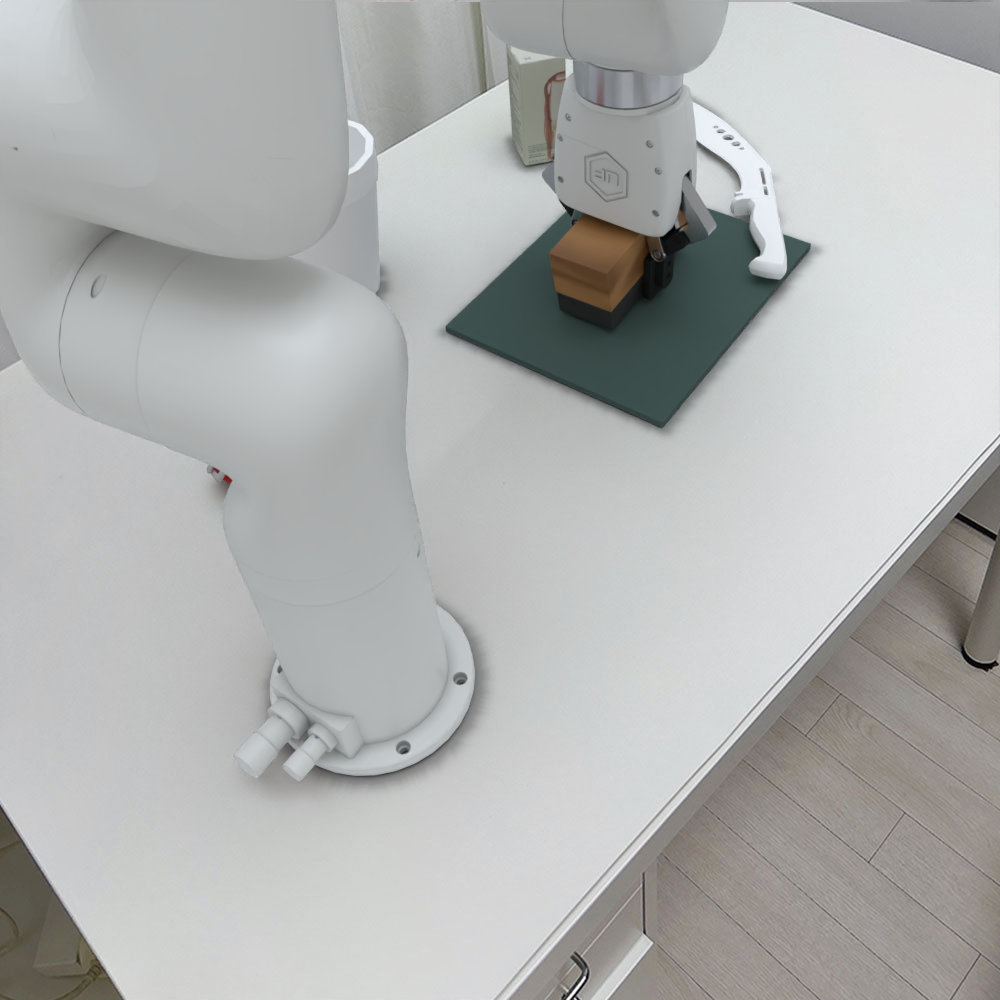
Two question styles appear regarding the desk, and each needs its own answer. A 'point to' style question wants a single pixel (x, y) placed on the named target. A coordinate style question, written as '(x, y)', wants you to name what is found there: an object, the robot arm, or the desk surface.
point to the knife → (748, 191)
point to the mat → (628, 321)
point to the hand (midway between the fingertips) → (624, 275)
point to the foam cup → (354, 219)
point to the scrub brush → (599, 269)
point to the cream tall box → (534, 102)
